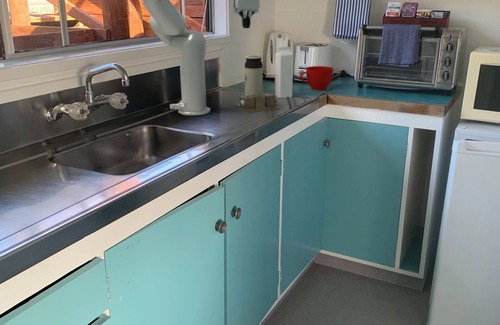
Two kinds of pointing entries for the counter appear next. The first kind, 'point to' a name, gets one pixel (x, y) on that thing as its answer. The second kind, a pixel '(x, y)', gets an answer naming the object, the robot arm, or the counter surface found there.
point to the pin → (243, 101)
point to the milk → (283, 72)
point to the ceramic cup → (318, 77)
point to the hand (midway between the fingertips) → (246, 27)
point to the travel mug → (253, 75)
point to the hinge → (259, 102)
